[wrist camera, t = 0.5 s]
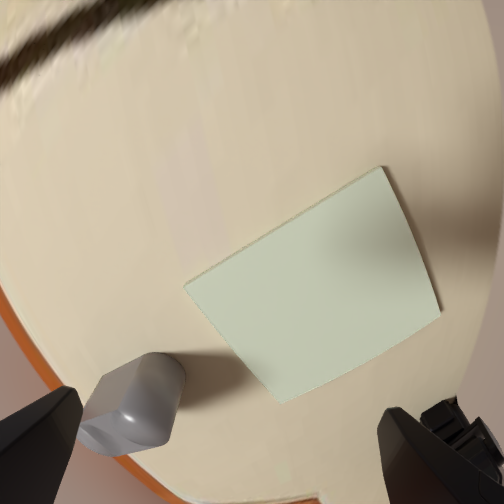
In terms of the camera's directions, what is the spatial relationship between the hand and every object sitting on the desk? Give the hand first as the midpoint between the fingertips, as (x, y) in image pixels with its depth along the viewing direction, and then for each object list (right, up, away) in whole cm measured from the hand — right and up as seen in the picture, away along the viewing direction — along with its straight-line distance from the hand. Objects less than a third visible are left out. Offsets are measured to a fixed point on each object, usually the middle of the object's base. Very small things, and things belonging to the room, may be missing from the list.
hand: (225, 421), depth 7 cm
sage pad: (+6, +1, +13) cm, 14 cm away
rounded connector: (-8, -6, +15) cm, 18 cm away
